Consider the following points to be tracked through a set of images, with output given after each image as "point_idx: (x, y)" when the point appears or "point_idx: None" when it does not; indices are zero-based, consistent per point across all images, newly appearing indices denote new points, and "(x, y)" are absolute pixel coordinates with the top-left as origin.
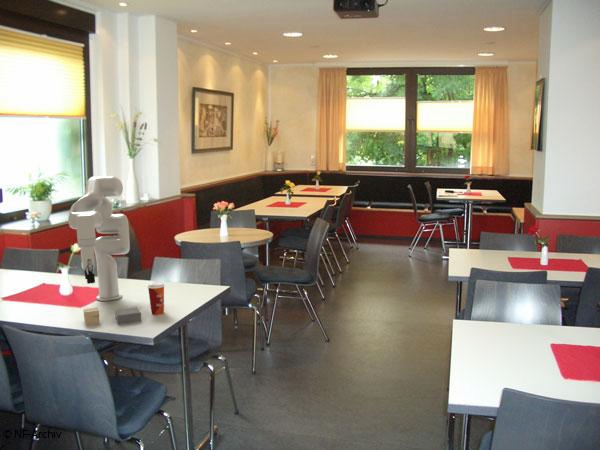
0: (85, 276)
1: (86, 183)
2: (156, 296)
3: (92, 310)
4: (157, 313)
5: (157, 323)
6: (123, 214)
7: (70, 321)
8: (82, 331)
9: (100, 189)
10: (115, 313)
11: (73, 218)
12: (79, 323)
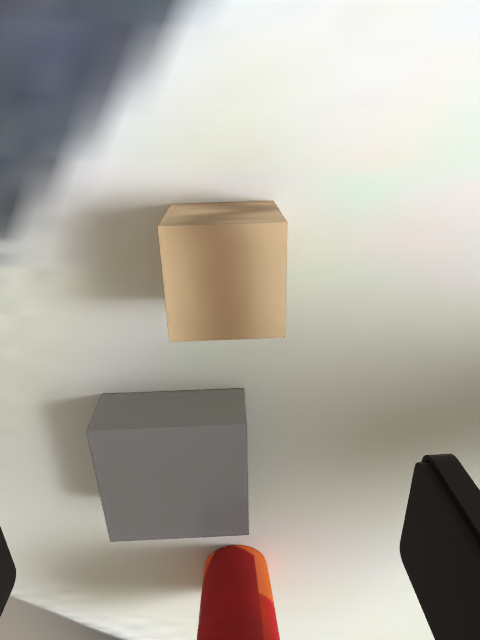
0: (446, 500)
1: None
2: None
3: (189, 294)
4: (205, 569)
5: (49, 550)
6: None
7: (341, 89)
8: (16, 172)
9: None
10: (199, 417)
11: None
12: (244, 160)
